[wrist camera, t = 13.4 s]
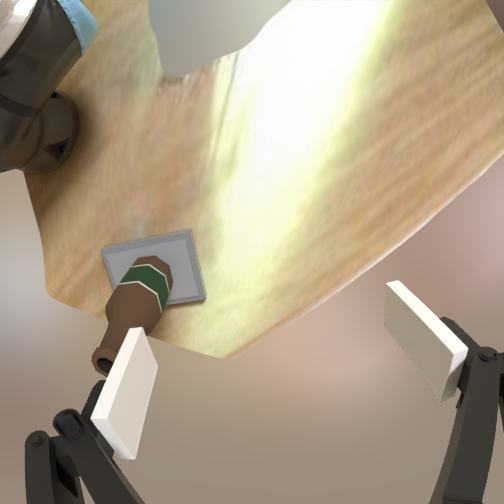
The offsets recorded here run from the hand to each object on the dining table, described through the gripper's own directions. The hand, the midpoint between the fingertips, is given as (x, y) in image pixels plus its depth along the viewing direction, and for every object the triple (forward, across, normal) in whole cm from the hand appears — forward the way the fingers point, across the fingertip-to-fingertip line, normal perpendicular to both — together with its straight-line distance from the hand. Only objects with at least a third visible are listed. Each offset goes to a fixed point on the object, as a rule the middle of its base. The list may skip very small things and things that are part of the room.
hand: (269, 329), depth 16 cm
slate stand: (+37, -17, -9) cm, 41 cm away
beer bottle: (+35, -17, -9) cm, 40 cm away
